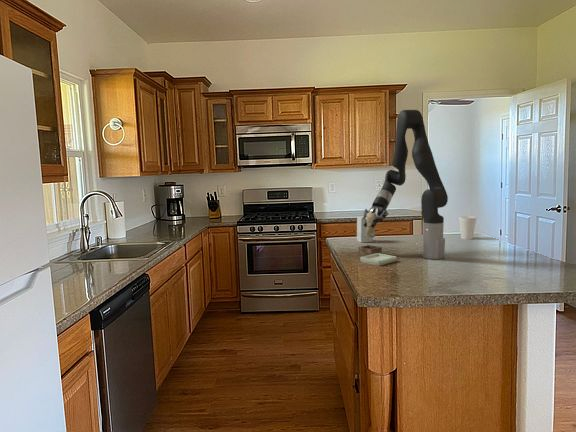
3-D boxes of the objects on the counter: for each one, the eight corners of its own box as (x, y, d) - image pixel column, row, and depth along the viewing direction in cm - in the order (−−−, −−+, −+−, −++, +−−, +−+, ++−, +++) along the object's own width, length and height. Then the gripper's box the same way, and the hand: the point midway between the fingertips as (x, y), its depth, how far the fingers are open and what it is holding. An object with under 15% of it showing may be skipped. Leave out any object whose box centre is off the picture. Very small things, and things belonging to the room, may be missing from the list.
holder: (381, 253, 207) (381, 247, 206) (371, 256, 201) (371, 249, 201) (368, 251, 213) (369, 245, 212) (358, 253, 208) (358, 247, 207)
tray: (396, 261, 191) (396, 256, 190) (379, 265, 183) (379, 261, 182) (377, 257, 199) (377, 252, 199) (360, 261, 191) (360, 257, 191)
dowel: (376, 236, 206) (376, 213, 204) (371, 237, 203) (371, 213, 202) (370, 235, 209) (370, 212, 207) (365, 236, 206) (364, 213, 205)
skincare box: (361, 242, 237) (361, 217, 235) (356, 241, 243) (356, 216, 241) (373, 241, 240) (374, 216, 238) (368, 240, 245) (369, 215, 244)
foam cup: (460, 239, 241) (461, 218, 239) (456, 237, 250) (457, 216, 248) (477, 239, 239) (478, 218, 238) (473, 237, 248) (473, 216, 247)
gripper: (368, 195, 214) (353, 220, 207) (391, 196, 203) (376, 222, 197) (374, 204, 218) (360, 229, 211) (397, 205, 207) (383, 232, 201)
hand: (368, 226), depth 204 cm, fingers closed on dowel, 4 cm apart
